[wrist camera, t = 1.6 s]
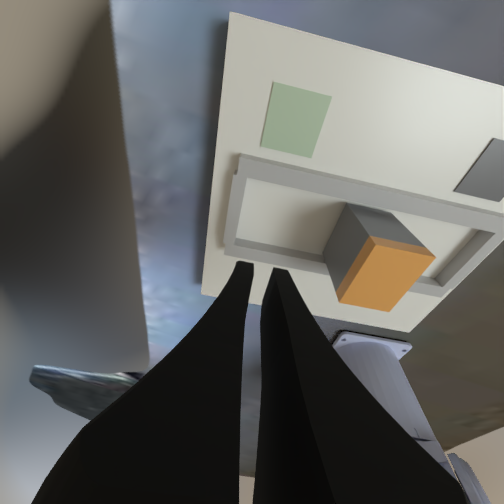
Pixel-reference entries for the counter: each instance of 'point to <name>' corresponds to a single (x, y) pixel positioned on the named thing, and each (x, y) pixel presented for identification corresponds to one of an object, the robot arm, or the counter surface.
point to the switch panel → (349, 164)
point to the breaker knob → (373, 258)
